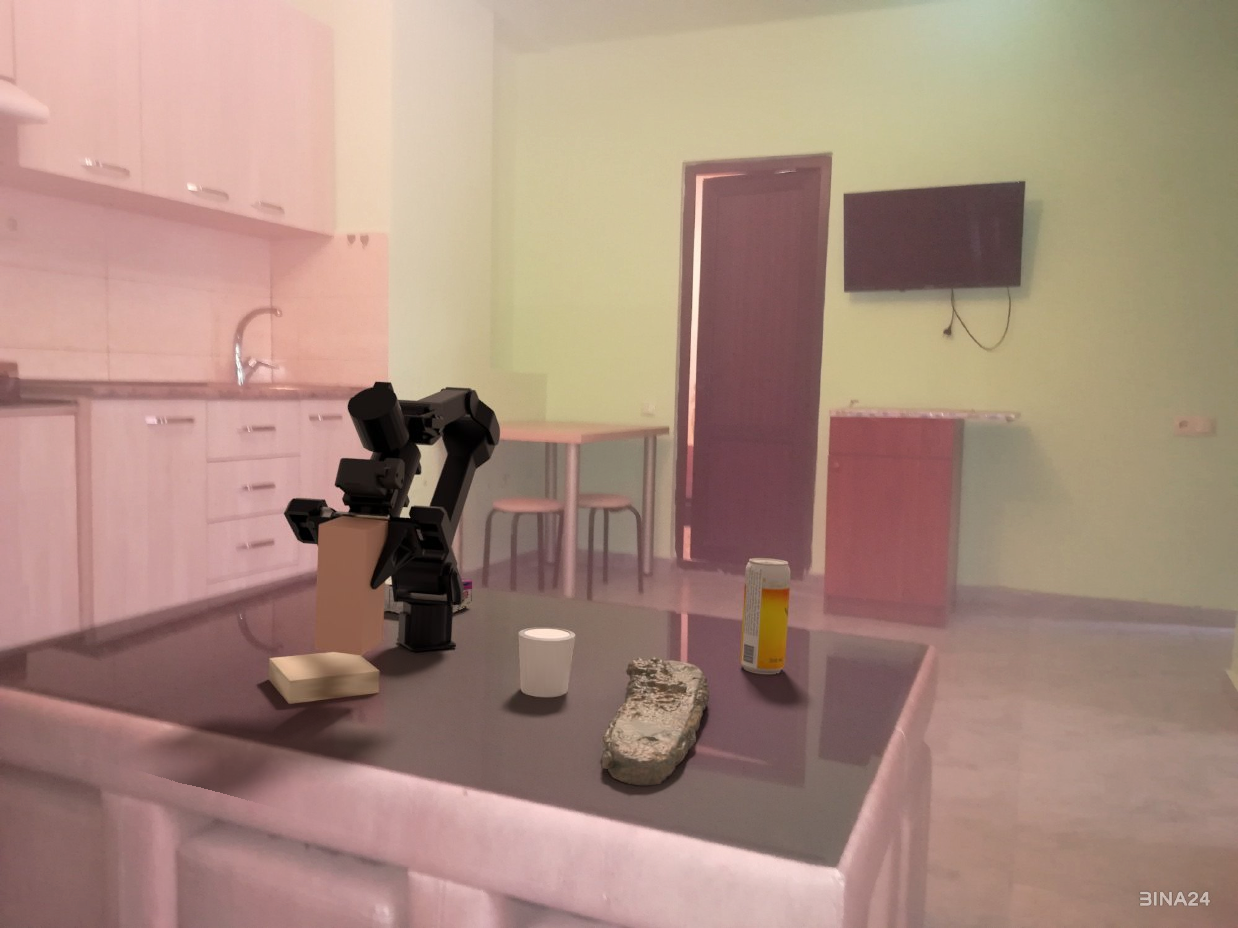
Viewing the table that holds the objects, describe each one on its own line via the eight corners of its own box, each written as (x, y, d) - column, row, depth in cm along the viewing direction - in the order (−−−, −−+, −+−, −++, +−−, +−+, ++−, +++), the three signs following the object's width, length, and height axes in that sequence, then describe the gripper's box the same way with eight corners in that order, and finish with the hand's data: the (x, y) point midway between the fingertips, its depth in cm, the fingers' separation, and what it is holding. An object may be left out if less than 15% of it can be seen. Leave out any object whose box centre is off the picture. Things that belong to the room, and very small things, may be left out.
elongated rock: (575, 795, 81) (683, 815, 79) (580, 740, 80) (689, 759, 79) (637, 673, 115) (714, 685, 113) (641, 634, 115) (718, 646, 113)
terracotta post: (338, 634, 103) (342, 516, 101) (382, 640, 102) (388, 521, 100) (314, 649, 97) (318, 524, 96) (361, 655, 97) (366, 529, 95)
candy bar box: (472, 608, 151) (392, 596, 157) (473, 579, 150) (393, 568, 156) (434, 621, 140) (350, 607, 146) (436, 590, 140) (352, 577, 146)
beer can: (792, 670, 122) (799, 562, 121) (768, 678, 117) (775, 565, 117) (756, 660, 126) (762, 556, 125) (730, 667, 122) (737, 559, 121)
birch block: (352, 673, 111) (353, 649, 111) (378, 696, 103) (379, 670, 102) (268, 682, 105) (269, 658, 105) (288, 707, 97) (289, 680, 97)
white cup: (528, 701, 102) (531, 641, 102) (507, 684, 108) (510, 627, 108) (582, 695, 106) (585, 637, 105) (558, 679, 112) (561, 624, 111)
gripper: (294, 428, 103) (240, 535, 93) (449, 437, 101) (412, 547, 91) (322, 490, 111) (275, 594, 101) (466, 499, 109) (434, 607, 99)
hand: (346, 585), depth 98 cm, fingers closed on terracotta post, 6 cm apart
